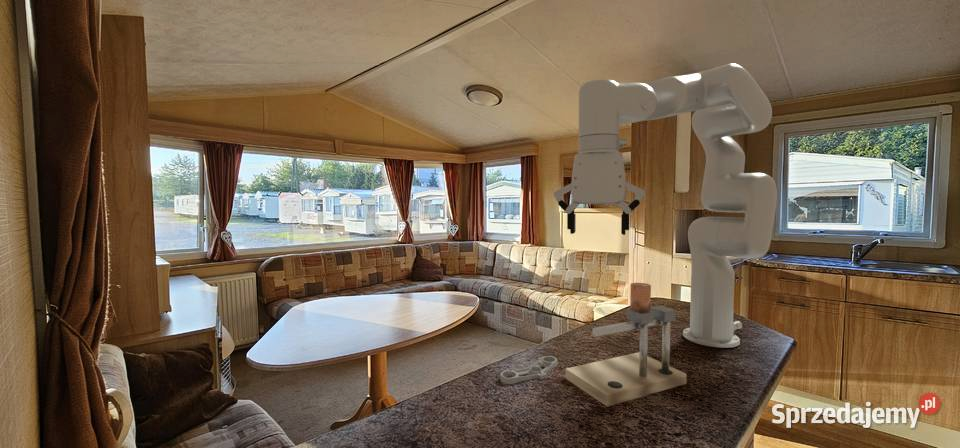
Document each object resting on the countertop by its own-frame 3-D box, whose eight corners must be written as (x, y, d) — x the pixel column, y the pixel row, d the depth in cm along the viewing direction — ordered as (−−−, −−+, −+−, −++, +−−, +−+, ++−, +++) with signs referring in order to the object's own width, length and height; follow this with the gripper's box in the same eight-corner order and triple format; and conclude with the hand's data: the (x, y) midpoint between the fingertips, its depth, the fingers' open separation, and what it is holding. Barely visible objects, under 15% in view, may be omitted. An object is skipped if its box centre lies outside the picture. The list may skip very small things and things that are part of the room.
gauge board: (638, 360, 87) (638, 351, 87) (686, 383, 76) (686, 373, 76) (565, 378, 79) (565, 368, 79) (607, 406, 68) (607, 395, 68)
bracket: (490, 365, 82) (551, 353, 88) (490, 374, 82) (551, 361, 88) (506, 380, 75) (571, 366, 81) (506, 390, 76) (571, 375, 81)
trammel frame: (660, 364, 81) (662, 305, 80) (675, 371, 77) (677, 309, 76) (589, 382, 73) (590, 317, 72) (603, 390, 70) (604, 322, 69)
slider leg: (638, 368, 78) (640, 282, 77) (653, 375, 75) (655, 285, 74) (624, 371, 77) (626, 283, 75) (639, 379, 73) (641, 287, 72)
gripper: (644, 146, 77) (643, 232, 78) (556, 151, 83) (556, 231, 84) (647, 141, 70) (646, 236, 71) (550, 146, 76) (550, 234, 77)
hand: (597, 233), depth 77 cm, fingers open, 9 cm apart
